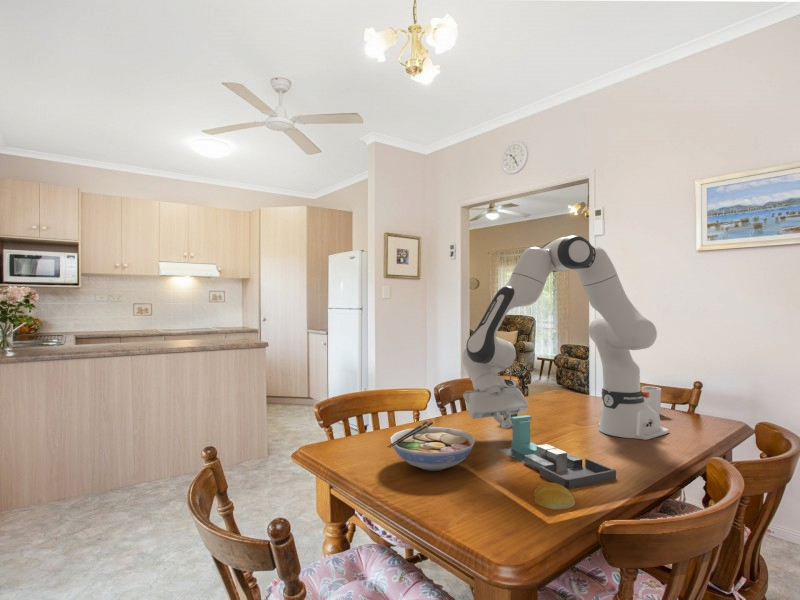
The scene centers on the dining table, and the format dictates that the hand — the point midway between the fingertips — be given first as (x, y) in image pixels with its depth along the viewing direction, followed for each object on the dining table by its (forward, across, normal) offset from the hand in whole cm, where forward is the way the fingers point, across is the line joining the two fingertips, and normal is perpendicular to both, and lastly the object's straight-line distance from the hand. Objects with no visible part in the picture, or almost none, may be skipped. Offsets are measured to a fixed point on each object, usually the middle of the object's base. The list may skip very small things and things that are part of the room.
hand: (507, 426), depth 130 cm
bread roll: (+30, -14, -20) cm, 38 cm away
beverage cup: (-12, +18, +21) cm, 30 cm away
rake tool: (+10, 0, -3) cm, 11 cm away
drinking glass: (-4, +76, +12) cm, 77 cm away
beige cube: (+15, 0, -8) cm, 18 cm away
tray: (+24, 0, -16) cm, 29 cm away
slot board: (+14, 0, -5) cm, 15 cm away
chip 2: (+18, 0, -11) cm, 22 cm away
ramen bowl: (+8, -28, +1) cm, 29 cm away
